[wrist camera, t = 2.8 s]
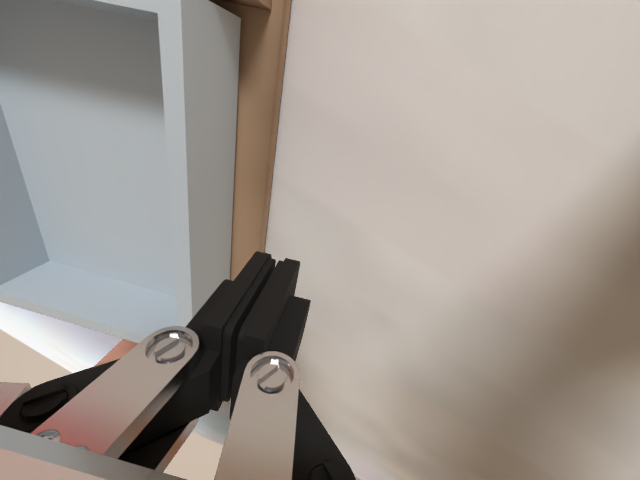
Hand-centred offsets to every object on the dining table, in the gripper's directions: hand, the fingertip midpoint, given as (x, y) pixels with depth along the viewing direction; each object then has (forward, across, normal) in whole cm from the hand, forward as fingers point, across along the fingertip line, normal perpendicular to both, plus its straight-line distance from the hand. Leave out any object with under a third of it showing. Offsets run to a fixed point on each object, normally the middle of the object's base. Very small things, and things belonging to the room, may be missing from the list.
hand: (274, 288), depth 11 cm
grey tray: (+6, +11, -1) cm, 13 cm away
